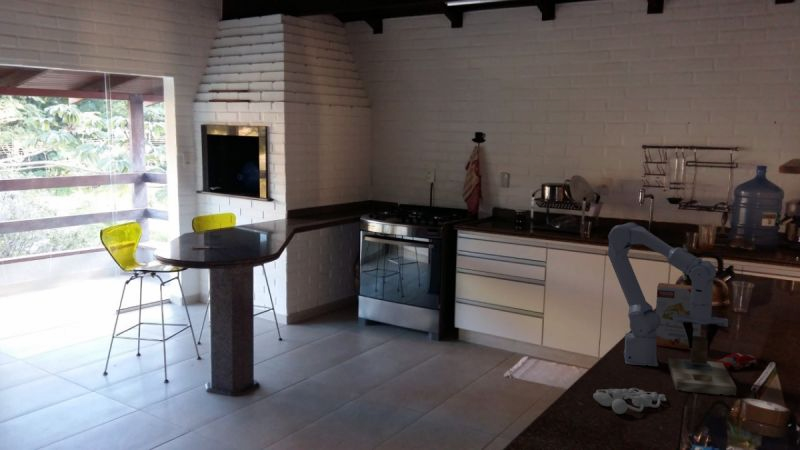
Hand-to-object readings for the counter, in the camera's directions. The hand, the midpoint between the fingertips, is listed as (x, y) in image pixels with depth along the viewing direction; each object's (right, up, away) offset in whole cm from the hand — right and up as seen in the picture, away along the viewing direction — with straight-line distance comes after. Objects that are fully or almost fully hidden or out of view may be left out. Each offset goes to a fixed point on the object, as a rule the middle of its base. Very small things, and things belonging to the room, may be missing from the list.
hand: (698, 348), depth 188 cm
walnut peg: (0, -4, 0) cm, 4 cm away
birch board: (-1, -9, -4) cm, 9 cm away
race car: (+15, -8, +7) cm, 18 cm away
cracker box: (+5, -5, +26) cm, 27 cm away
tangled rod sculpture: (-28, -11, -19) cm, 36 cm away
